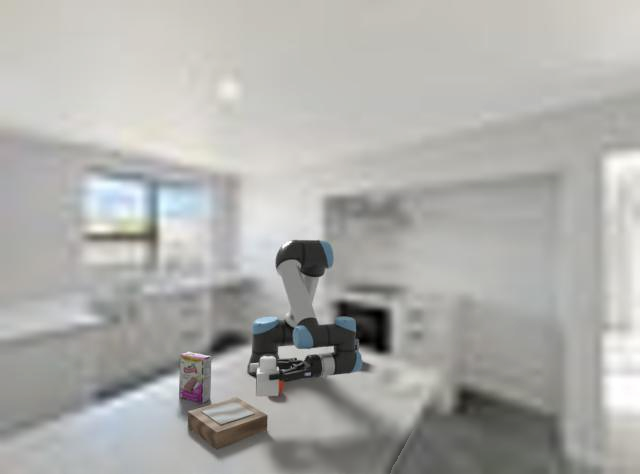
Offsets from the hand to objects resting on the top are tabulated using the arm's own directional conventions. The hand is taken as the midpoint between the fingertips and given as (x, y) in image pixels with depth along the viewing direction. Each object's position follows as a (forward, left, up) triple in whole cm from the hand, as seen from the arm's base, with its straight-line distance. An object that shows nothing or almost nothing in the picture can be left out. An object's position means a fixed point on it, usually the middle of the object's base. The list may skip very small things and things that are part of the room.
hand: (254, 372), depth 139 cm
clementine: (-18, +23, -18) cm, 34 cm away
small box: (-27, +75, -18) cm, 81 cm away
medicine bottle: (+1, +4, -7) cm, 8 cm away
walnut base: (-5, -6, -18) cm, 19 cm away
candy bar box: (-33, -3, -18) cm, 37 cm away
